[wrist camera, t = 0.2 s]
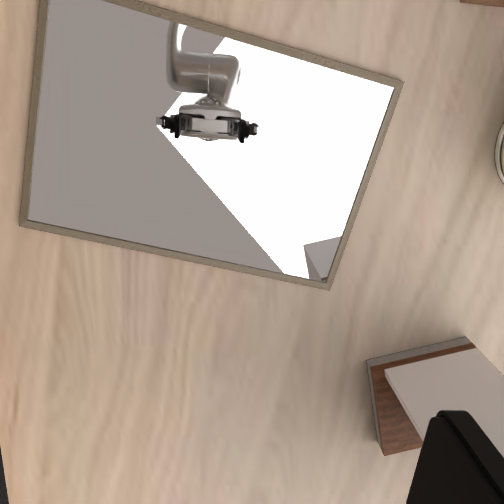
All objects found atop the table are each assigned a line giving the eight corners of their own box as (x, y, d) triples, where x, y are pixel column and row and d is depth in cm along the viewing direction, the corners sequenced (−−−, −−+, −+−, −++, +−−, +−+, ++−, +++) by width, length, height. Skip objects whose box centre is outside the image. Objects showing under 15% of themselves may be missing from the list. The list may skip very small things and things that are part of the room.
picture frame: (399, 81, 38) (47, -25, 33) (404, 81, 37) (42, -28, 32) (327, 285, 44) (23, 222, 39) (329, 290, 43) (19, 226, 38)
